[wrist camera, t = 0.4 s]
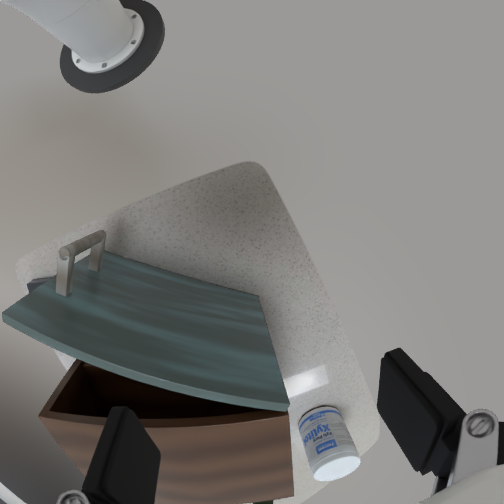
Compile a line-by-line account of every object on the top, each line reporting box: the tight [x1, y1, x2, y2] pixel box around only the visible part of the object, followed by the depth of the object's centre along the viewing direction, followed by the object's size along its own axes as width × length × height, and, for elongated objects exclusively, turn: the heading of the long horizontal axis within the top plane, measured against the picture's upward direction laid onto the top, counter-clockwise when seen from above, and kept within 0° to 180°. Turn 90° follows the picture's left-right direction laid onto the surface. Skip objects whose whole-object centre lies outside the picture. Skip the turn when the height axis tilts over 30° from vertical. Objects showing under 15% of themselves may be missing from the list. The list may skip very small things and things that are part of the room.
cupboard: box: [38, 359, 294, 504], centre depth 35 cm, size 18×26×24 cm
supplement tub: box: [299, 407, 361, 481], centre depth 46 cm, size 10×10×15 cm
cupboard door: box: [2, 230, 290, 412], centre depth 30 cm, size 6×26×24 cm, turn 72°
